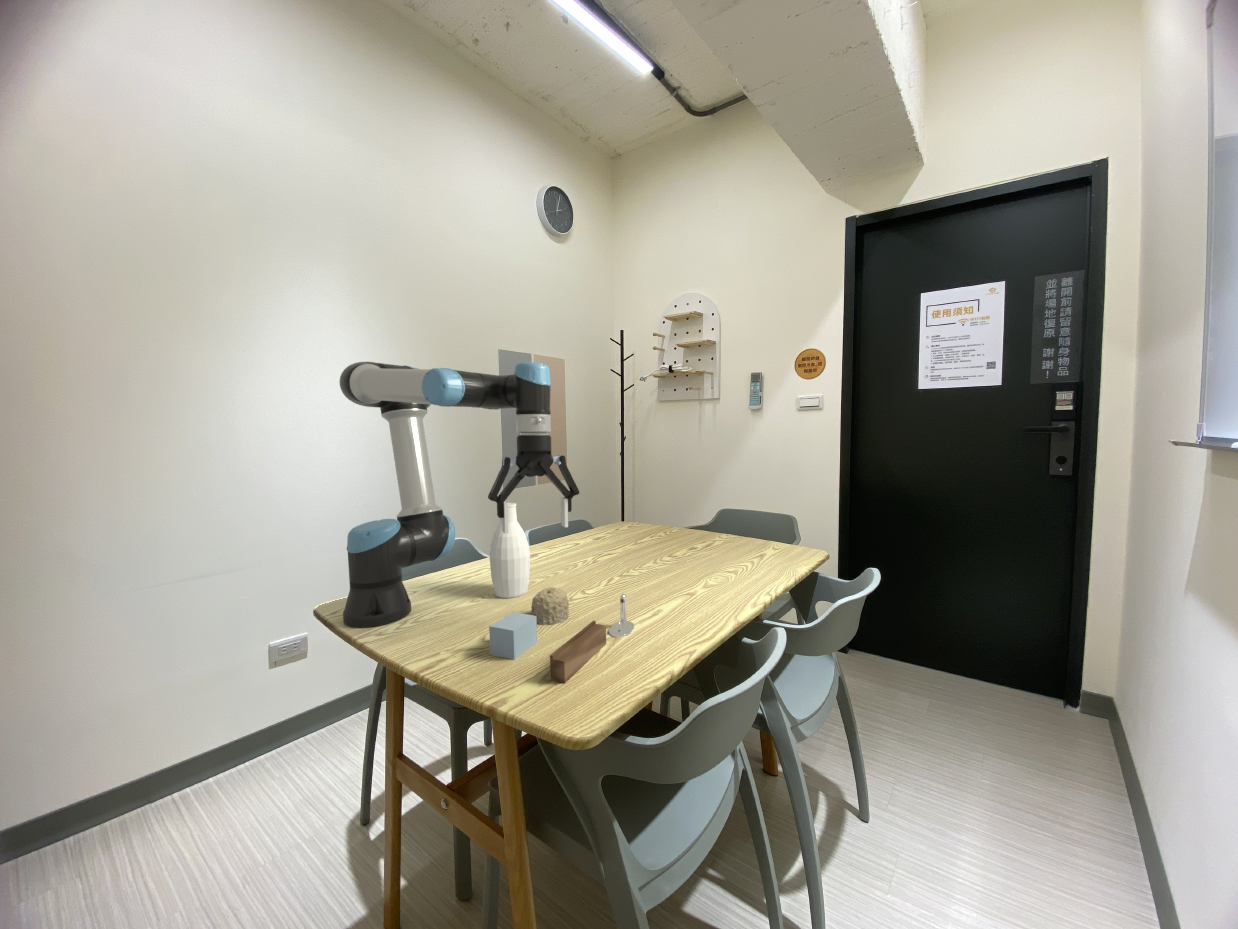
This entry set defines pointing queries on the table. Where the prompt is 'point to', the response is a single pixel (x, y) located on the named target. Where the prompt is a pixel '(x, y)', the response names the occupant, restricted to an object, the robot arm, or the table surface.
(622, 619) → the metal post stand
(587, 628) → the brown wooden bar
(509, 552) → the bottle
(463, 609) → the table surface
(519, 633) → the block
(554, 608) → the sponge
